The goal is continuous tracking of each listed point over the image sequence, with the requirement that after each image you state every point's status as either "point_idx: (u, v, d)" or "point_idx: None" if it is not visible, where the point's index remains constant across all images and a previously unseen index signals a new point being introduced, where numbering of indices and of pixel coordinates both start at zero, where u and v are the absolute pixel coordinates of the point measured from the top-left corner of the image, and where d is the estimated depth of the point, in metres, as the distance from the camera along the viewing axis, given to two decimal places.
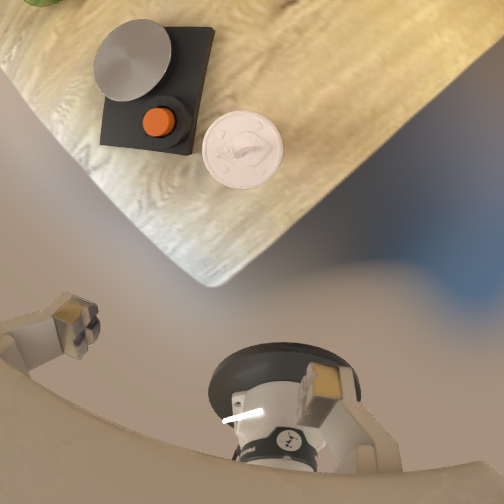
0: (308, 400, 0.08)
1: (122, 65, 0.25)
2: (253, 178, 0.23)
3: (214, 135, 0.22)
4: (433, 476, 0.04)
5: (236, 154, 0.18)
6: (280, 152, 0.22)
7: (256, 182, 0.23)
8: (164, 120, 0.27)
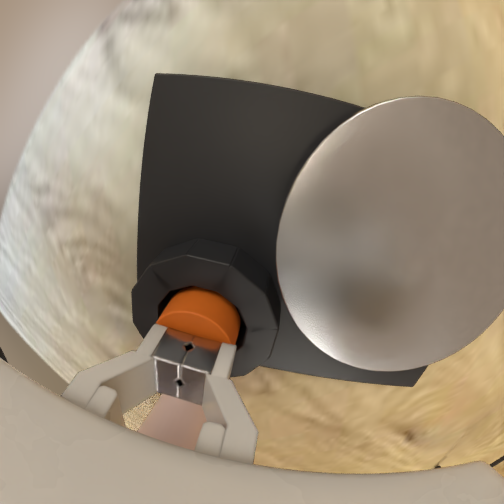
0: None
1: (420, 231, 0.08)
2: None
3: None
4: (433, 476, 0.04)
5: None
6: None
7: None
8: None
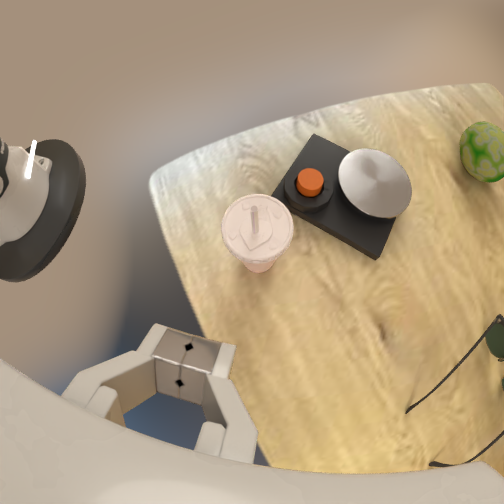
0: None
1: (373, 173, 0.34)
2: (229, 226, 0.26)
3: (278, 209, 0.26)
4: (433, 476, 0.04)
5: (254, 208, 0.22)
6: (243, 255, 0.25)
7: (224, 228, 0.26)
8: (309, 185, 0.33)
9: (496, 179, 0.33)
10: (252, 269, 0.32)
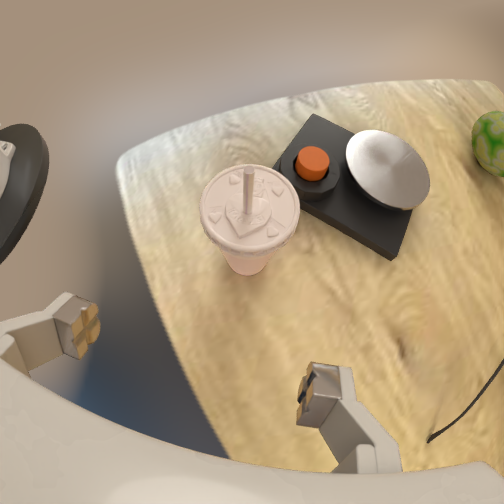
0: (308, 400, 0.08)
1: (386, 157, 0.28)
2: (210, 205, 0.18)
3: (278, 184, 0.19)
4: (433, 476, 0.04)
5: (249, 169, 0.14)
6: (229, 245, 0.17)
7: (204, 207, 0.18)
8: (312, 166, 0.26)
9: None
10: (239, 270, 0.25)
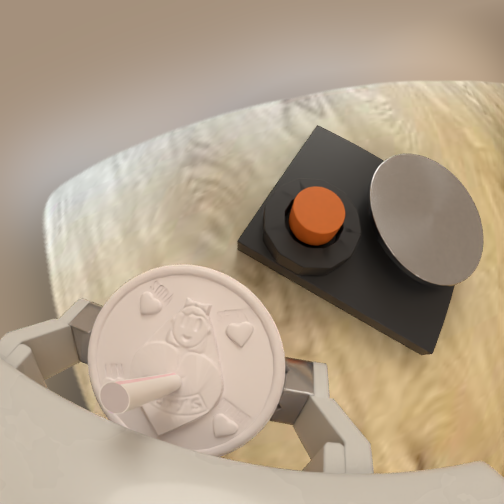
0: None
1: (428, 199, 0.18)
2: (106, 360, 0.08)
3: (242, 315, 0.09)
4: (433, 476, 0.04)
5: (118, 392, 0.04)
6: None
7: (95, 362, 0.08)
8: (316, 224, 0.16)
9: None
10: None
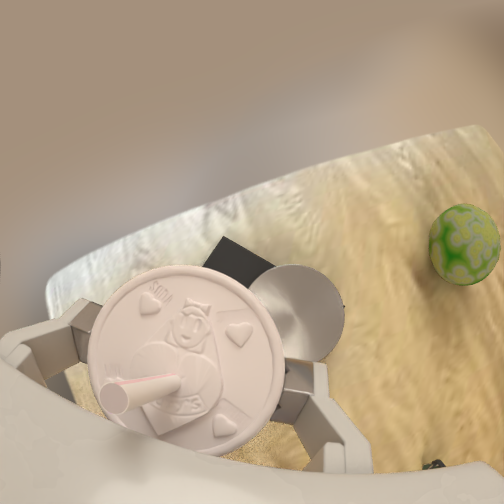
0: None
1: (291, 304, 0.28)
2: (105, 361, 0.08)
3: (241, 316, 0.09)
4: (433, 476, 0.04)
5: (118, 393, 0.04)
6: None
7: (95, 363, 0.08)
8: None
9: (472, 284, 0.28)
10: None
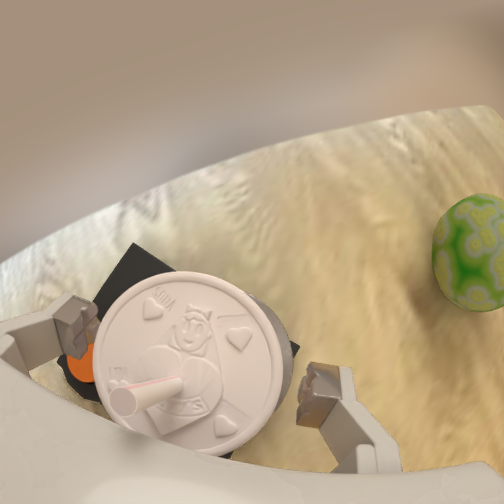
0: (308, 400, 0.08)
1: None
2: (110, 364, 0.08)
3: (241, 320, 0.09)
4: (433, 476, 0.04)
5: (127, 397, 0.04)
6: None
7: (100, 366, 0.08)
8: (80, 373, 0.16)
9: (492, 310, 0.18)
10: None
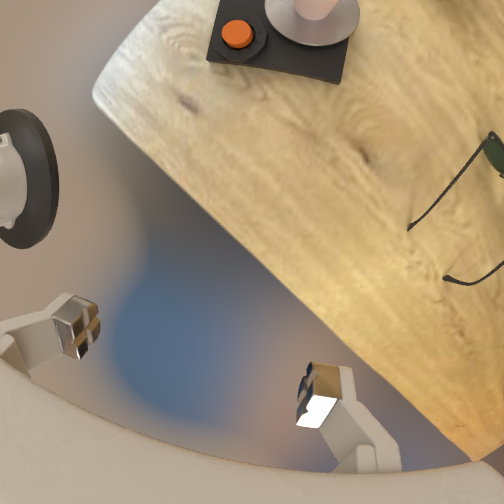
0: (308, 400, 0.08)
1: None
2: None
3: None
4: (433, 476, 0.04)
5: None
6: None
7: None
8: (236, 40, 0.24)
9: None
10: (315, 15, 0.21)
